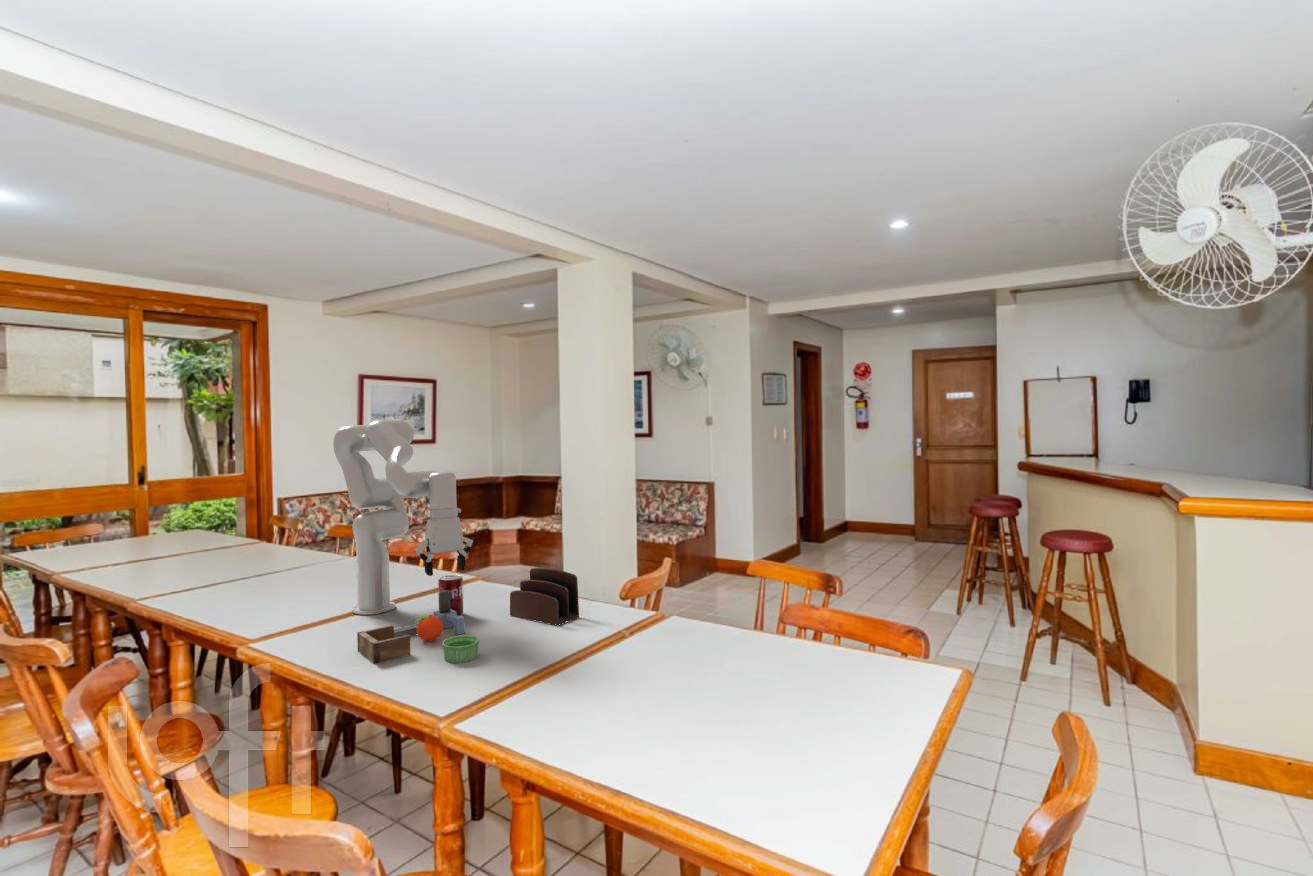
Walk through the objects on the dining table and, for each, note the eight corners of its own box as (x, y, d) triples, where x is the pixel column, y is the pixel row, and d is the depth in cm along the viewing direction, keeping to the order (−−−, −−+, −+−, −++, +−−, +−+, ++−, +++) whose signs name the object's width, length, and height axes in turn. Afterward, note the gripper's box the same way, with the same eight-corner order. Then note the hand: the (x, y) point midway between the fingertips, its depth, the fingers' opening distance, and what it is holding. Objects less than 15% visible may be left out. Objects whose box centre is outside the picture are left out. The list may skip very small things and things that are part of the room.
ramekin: (486, 654, 166) (486, 637, 166) (462, 666, 158) (462, 648, 158) (459, 649, 170) (459, 633, 170) (434, 661, 162) (434, 643, 162)
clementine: (414, 647, 172) (413, 621, 172) (411, 639, 178) (410, 614, 178) (445, 642, 175) (444, 616, 175) (441, 635, 182) (440, 610, 181)
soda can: (467, 612, 203) (466, 574, 203) (457, 619, 196) (457, 580, 196) (444, 612, 204) (444, 574, 204) (434, 619, 197) (434, 580, 196)
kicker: (433, 625, 190) (432, 591, 189) (449, 621, 193) (448, 588, 193) (452, 635, 180) (451, 600, 180) (469, 631, 184) (468, 596, 183)
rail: (378, 640, 178) (378, 632, 178) (452, 623, 192) (452, 616, 192) (382, 642, 176) (382, 635, 176) (457, 625, 190) (457, 618, 190)
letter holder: (532, 608, 208) (531, 564, 207) (579, 618, 197) (579, 572, 197) (509, 616, 199) (508, 571, 199) (557, 626, 189) (557, 579, 188)
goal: (357, 651, 169) (357, 632, 169) (392, 643, 175) (392, 624, 175) (374, 663, 160) (373, 644, 160) (410, 654, 166) (410, 635, 166)
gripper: (465, 510, 197) (467, 565, 197) (409, 516, 185) (411, 575, 186) (476, 511, 192) (478, 569, 192) (419, 518, 180) (421, 579, 180)
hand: (445, 572), depth 189 cm, fingers open, 9 cm apart
